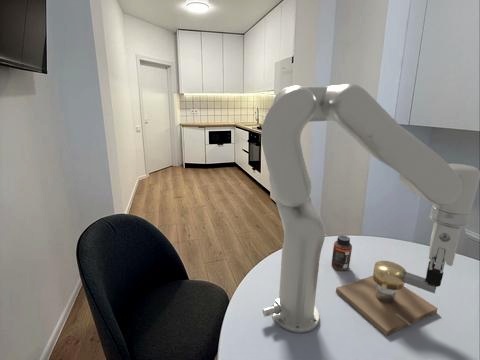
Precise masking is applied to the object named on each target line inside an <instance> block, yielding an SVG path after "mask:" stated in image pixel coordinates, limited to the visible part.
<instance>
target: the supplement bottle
mask: <svg viewBox="0 0 480 360" xmlns="http://www.w3.org/2000/svg"><path fill="white" fill-rule="evenodd" d="M352 250H353V245H352V244H351V238H350V237H349V236H347V235H345V234H343V235H342V234H341V235H340V234H339V235H338V236H337V240H335V241H334V242H333V248H332V257H331V266H332V267H333V268H334V269H335V270H339V271H347V270H348V269H349V268H350V264H351V256H352Z"/></svg>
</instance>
